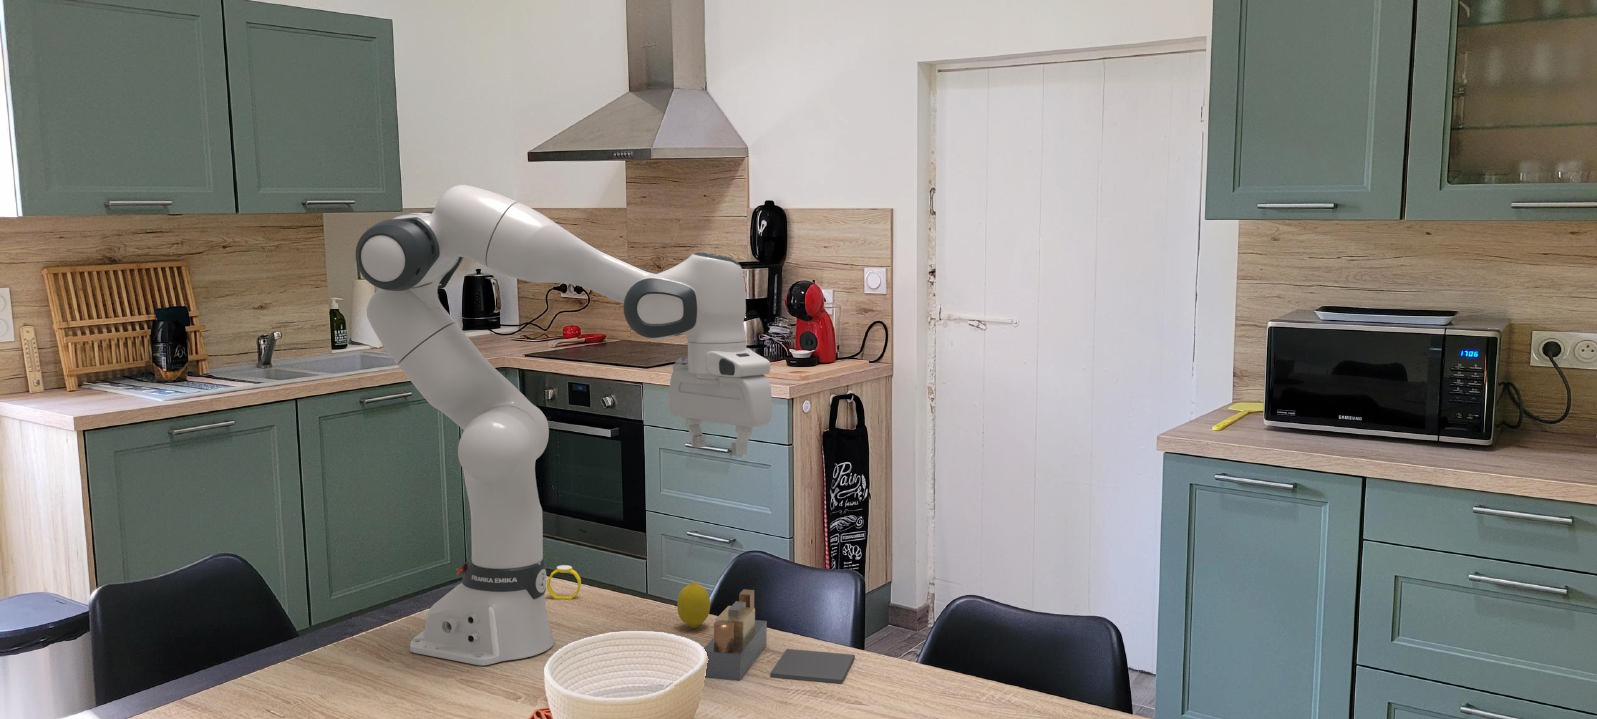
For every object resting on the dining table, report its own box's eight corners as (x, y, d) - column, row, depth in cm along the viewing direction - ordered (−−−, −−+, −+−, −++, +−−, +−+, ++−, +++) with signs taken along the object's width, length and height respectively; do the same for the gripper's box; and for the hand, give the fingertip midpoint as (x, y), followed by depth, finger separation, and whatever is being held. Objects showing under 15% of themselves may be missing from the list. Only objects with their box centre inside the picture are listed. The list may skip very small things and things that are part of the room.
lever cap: (715, 641, 178) (715, 612, 178) (728, 627, 185) (728, 599, 185) (743, 643, 177) (743, 615, 177) (754, 629, 184) (755, 601, 184)
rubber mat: (770, 676, 175) (770, 672, 175) (786, 652, 185) (786, 648, 185) (841, 683, 172) (842, 679, 172) (854, 658, 183) (854, 654, 183)
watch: (580, 597, 214) (583, 566, 213) (578, 602, 211) (580, 570, 210) (548, 595, 214) (550, 563, 213) (545, 599, 211) (547, 567, 210)
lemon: (704, 634, 193) (705, 587, 192) (672, 631, 194) (673, 585, 194) (713, 624, 199) (714, 578, 198) (682, 621, 200) (682, 576, 199)
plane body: (701, 676, 174) (701, 618, 173) (730, 641, 190) (731, 588, 189) (740, 680, 173) (740, 621, 172) (766, 644, 189) (767, 590, 188)
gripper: (658, 357, 181) (659, 445, 182) (746, 366, 166) (747, 461, 168) (689, 354, 185) (690, 440, 186) (778, 363, 171) (779, 455, 172)
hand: (718, 450), depth 177 cm, fingers open, 8 cm apart
